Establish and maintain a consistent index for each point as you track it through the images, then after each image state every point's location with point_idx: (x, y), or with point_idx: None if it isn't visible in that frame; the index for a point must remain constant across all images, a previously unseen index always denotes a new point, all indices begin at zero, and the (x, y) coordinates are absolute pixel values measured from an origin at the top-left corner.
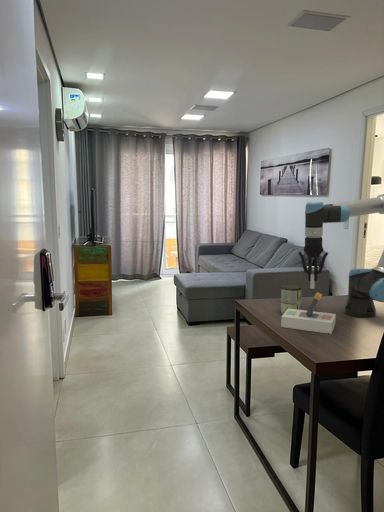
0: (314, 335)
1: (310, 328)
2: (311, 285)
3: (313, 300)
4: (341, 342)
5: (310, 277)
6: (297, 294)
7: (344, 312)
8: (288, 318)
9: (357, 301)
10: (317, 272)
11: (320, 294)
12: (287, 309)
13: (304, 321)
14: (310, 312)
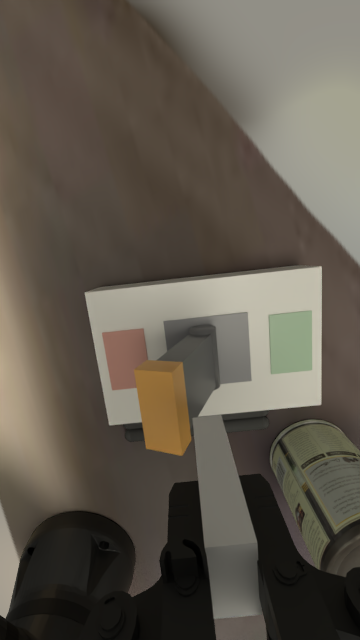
0: (150, 235)
1: (179, 279)
2: (216, 434)
3: (183, 358)
4: (39, 211)
5: (251, 514)
6: (321, 512)
7: (126, 535)
8: (284, 270)
9: (56, 585)
10: (157, 617)
11: (153, 430)
12: (326, 434)
13: (207, 278)
14: (194, 331)
